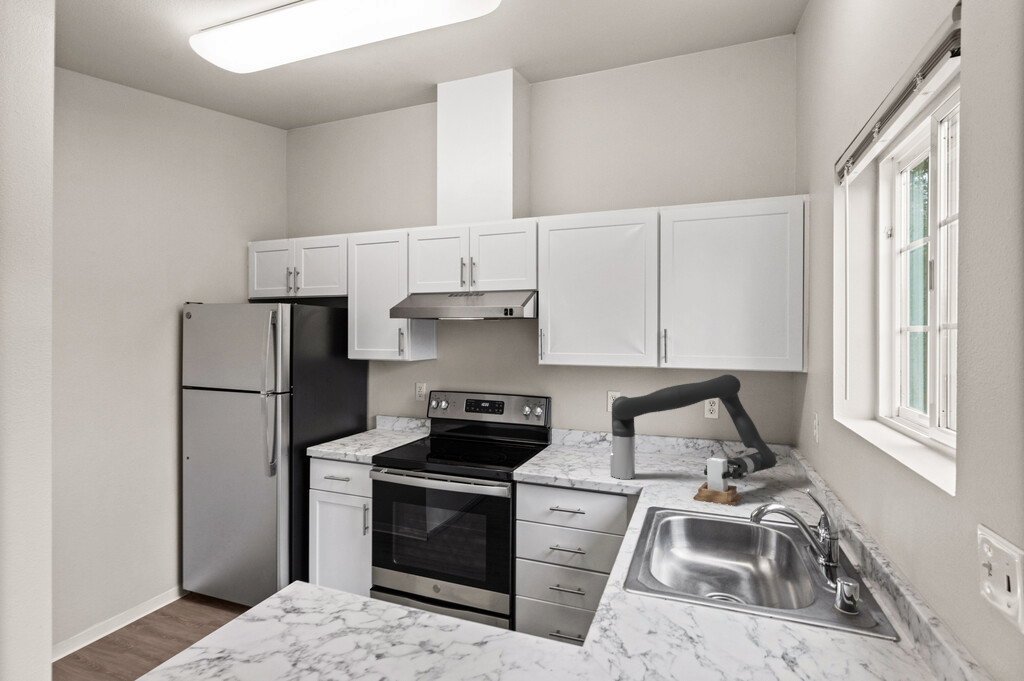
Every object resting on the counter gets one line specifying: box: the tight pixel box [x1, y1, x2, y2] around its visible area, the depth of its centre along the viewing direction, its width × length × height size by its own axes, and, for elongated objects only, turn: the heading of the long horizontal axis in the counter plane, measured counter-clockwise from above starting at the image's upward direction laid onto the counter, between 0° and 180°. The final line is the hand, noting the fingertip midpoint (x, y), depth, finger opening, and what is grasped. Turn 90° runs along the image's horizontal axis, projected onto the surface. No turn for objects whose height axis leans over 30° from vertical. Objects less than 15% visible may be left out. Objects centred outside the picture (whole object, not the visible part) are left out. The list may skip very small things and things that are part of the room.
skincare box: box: [706, 457, 729, 492], centre depth 198 cm, size 6×4×12 cm
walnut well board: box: [692, 481, 742, 507], centre depth 198 cm, size 14×12×4 cm
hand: (713, 474), depth 197 cm, fingers closed on skincare box, 6 cm apart
